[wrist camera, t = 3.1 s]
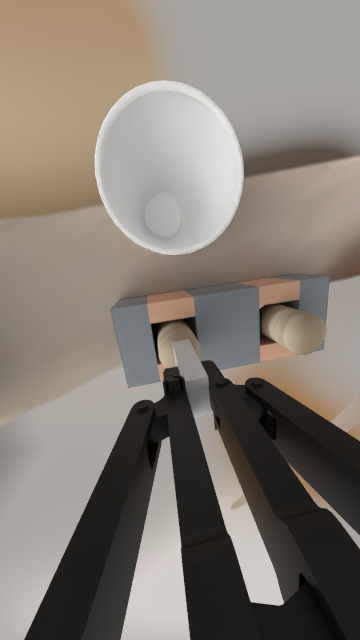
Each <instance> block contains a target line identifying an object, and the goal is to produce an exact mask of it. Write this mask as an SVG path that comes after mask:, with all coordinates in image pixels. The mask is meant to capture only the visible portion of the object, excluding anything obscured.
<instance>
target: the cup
mask: <svg viewBox="0 0 360 640" xmlns="http://www.w3.org/2000/svg"><path fill="white" fill-rule="evenodd" d="M94 160H95V177H96V181H97V185H98V190H99V194H100V196H101V199H102V201H103V203H104V206H105V208H106V210H107V212H108V213H109V215H110V217H111V218H112V220H113V221H114V223H115V224H116V225H117V226H118V228H119V229H120V230H121V231H122V232H123V233H124V234H125V235H126V236H127V237H128V238H130V239H131V240H132V241H134V242H135V243H136V244H138V245H140V246H142V247H144V248H146V249H148V250H150V251H153V252H157V253H160V254H164V255H182V254H189V253H192V252H195V251H198V250H200V249H203V248H204V247H206V246H207V245H209V244H211V243H212V242H214V241H215V240H216V239H217V238H218V237H219V236H220V235H221V234H222V233H223V232H224V231H225V229H226V228H227V227H228V225H229V224H230V222H231V221H232V219H233V217H234V215H235V213H236V211H237V209H238V206H239V202H240V199H241V195H242V191H243V181H244V166H243V157H242V152H241V148H240V143H239V141H238V138H237V136H236V133H235V131H234V128H233V126H232V125H231V123H230V121H229V120H228V118H227V116H226V115H225V113H224V112H223V111H222V110H221V109H220V108H219V106H218V105H217V104H215V102H214V101H213V100H212V99H211V98H209V97H208V96H207V95H205V94H204V93H203V92H201V91H200V90H198V89H196V88H194V87H191V86H189V85H187V84H185V83H180V82H174V81H169V80H165V81H151V82H149V83H145V84H142V85H140V86H137V87H135V88H133V89H132V90H130V91H129V92H127V93H126V94H124V95H123V96H122V97H121V98H120V99H119V100H118V101H117V102H116V103H115V105H114V106H113V107H112V108H111V109H110V111H109V113H108V114H107V116H106V118H105V120H104V121H103V123H102V126H101V129H100V132H99V135H98V138H97V142H96V150H95V158H94Z"/></svg>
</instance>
